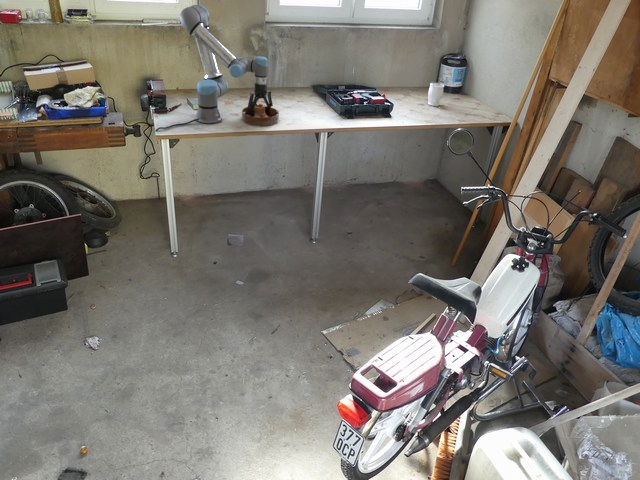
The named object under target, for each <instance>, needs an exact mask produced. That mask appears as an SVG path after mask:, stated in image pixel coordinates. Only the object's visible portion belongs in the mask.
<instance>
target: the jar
mask: <svg viewBox="0 0 640 480" xmlns="http://www.w3.org/2000/svg"><path fill="white" fill-rule="evenodd" d="M444 88H445V84H444V83H441V82H430V83H429V88H428V92H427V95H428V96H427V100H428V102H427V105H429V106H432V107H438V106H440V102H441V100H442V99H443V96H444Z"/></svg>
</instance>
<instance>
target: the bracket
mask: <svg viewBox="0 0 640 480" xmlns="http://www.w3.org/2000/svg"><path fill="white" fill-rule="evenodd" d="M265 106H266V104H263V103H258V102H257V103H256V105H255V107H254V110H255V116H254V117H260V118H265V117H268V116H267V114H266V113H265Z"/></svg>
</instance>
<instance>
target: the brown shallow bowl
mask: <svg viewBox="0 0 640 480" xmlns="http://www.w3.org/2000/svg"><path fill="white" fill-rule="evenodd" d="M266 107H267V105H265V113H266ZM279 115H280V112H279V110H278V109H277V108H275V107H271V108H270V112H269V117H265V118H260V117H252V116H251V114H250V109H249V108H248V106H246V107H244V108H242V110H241V120H242V122H243V123H245V124H247V125H250V126H254V127H269V126H270V127H271V126H273V125H276V124H277V123H278V122H279V121H280V120H279V117H280V116H279Z"/></svg>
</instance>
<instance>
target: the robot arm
mask: <svg viewBox="0 0 640 480" xmlns="http://www.w3.org/2000/svg"><path fill="white" fill-rule="evenodd" d="M209 21H210V13H209V11H208V9H207V8H206V7H205V6H203V5H201V4H193V5H190V6H188V7H184V8H183V9H182V10H181V11H180V13H179V22H180V24H181V27H182V28H183V29H184V30H185V31H186V32H187V33H188V35H190V36H191V37H194V40H195V44H196V47H197V50H198V54H199V57H200V60H201V64H202V68H203V70H204V76H203V80H200V81H199V82H198V83H197V88H196V90H197V105H198V107H197V110H196V111H197V112H196V114H195V119H193V120H189V121H187V122H184V123H175V124H172V125H167V126H165V127H164V126H161V127H157V128H156V130H155V132H158V131H159V130H166V129H170V128H172V127H176V126H184V125H189V124H191V123H193V122H197V123H200V124H207V125H208V124H209V125H210V124H212V125H213V124H217V123H220V122H221V121H222V117H221V116H222V115H221V113H220V109H219V107H218V105H219V104H218V103H219V102H218V101H219V100H218V99H219V98H221V97H223V96H224V95H225V94H226V92H227V91H228V87H229V84H228V81H227V80H226V78H224V76H223V73H222V72H221V71H220V70H219V66H218V62H217V60H216V59H218V60H219V61H220V62H221V64H222V65H224V66H225V67H226V68H227V69H228V71H229V74H230V76H231V77H232V78H235V79H237V78H240V77H242V76H243V75H245V74H246V73H247V72H248V73H253V74H254V92H251V91H250V92H249V98H248V103H247V107H248V108H249V109H250V114H251V116H252V117H254V116H255V110H254V107H255V105H256V103H257V104H258V102H259V99H260V100H261V99H263V101H264V104H265V106H267V107H266V114H267V116H268V117H269V112H270V108H272V107H273V106H274V105H273V104H274V103H273V99H272V92H271V91H270V90H268V84H267V83H268V67H269V65H268V64H269V63H268V58H267V57H266V56H264V55H263V56H261V55H260V56H259V55H258V56H255V58H254V59H253V58H247V57H236V56H234V55H233V54H232V52H230V51H229V50H228V49H227V48H226V47H225V46H224V45H223V44H222V43H221V42H220V41H219V40H218V39H217V38H216V37H215V36H214V35H213V34H212V33H211V32H210V31H209V29H210V24H209ZM159 183H160V182H159V177H158V176H157V177H156V186H157V187H156V188H157V197H158V201H161V193H160V184H159Z"/></svg>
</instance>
